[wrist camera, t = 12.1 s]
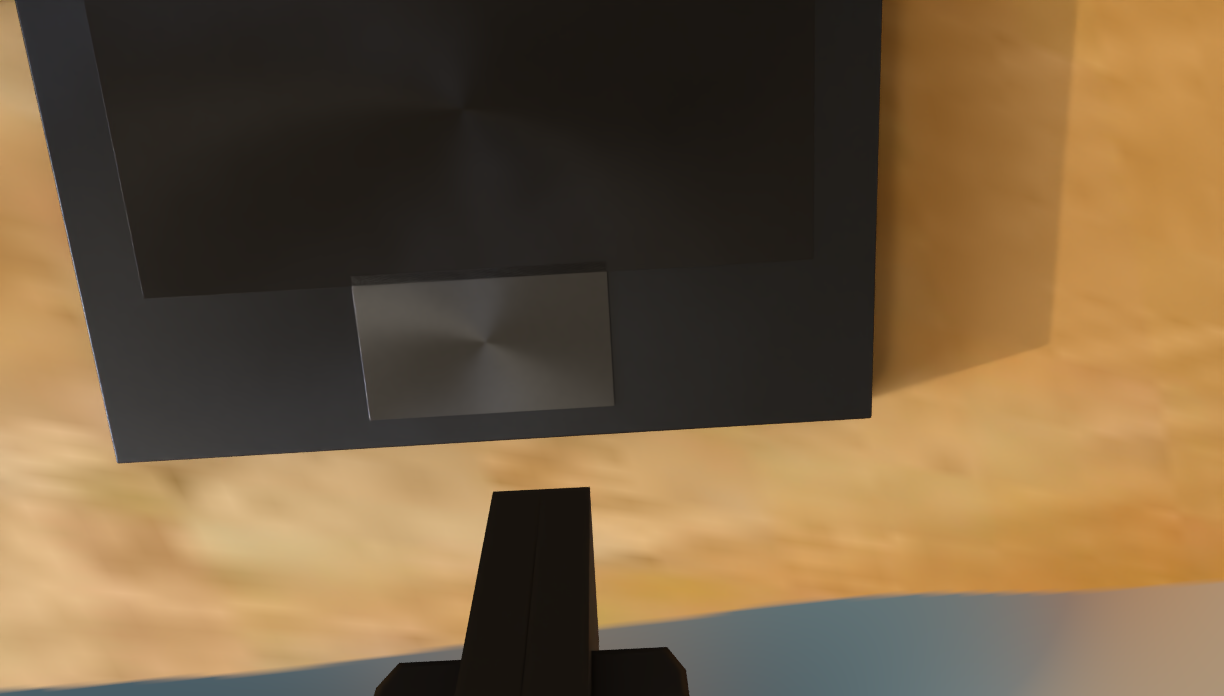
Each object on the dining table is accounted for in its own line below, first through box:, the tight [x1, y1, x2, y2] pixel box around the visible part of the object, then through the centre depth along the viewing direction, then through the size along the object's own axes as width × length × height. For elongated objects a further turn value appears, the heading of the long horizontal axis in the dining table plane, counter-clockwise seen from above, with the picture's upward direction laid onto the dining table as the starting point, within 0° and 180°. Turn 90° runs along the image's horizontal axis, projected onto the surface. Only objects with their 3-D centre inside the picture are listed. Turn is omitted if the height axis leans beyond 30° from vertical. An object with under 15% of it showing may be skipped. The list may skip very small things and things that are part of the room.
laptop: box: [15, 0, 882, 463], centre depth 42 cm, size 21×30×2 cm
